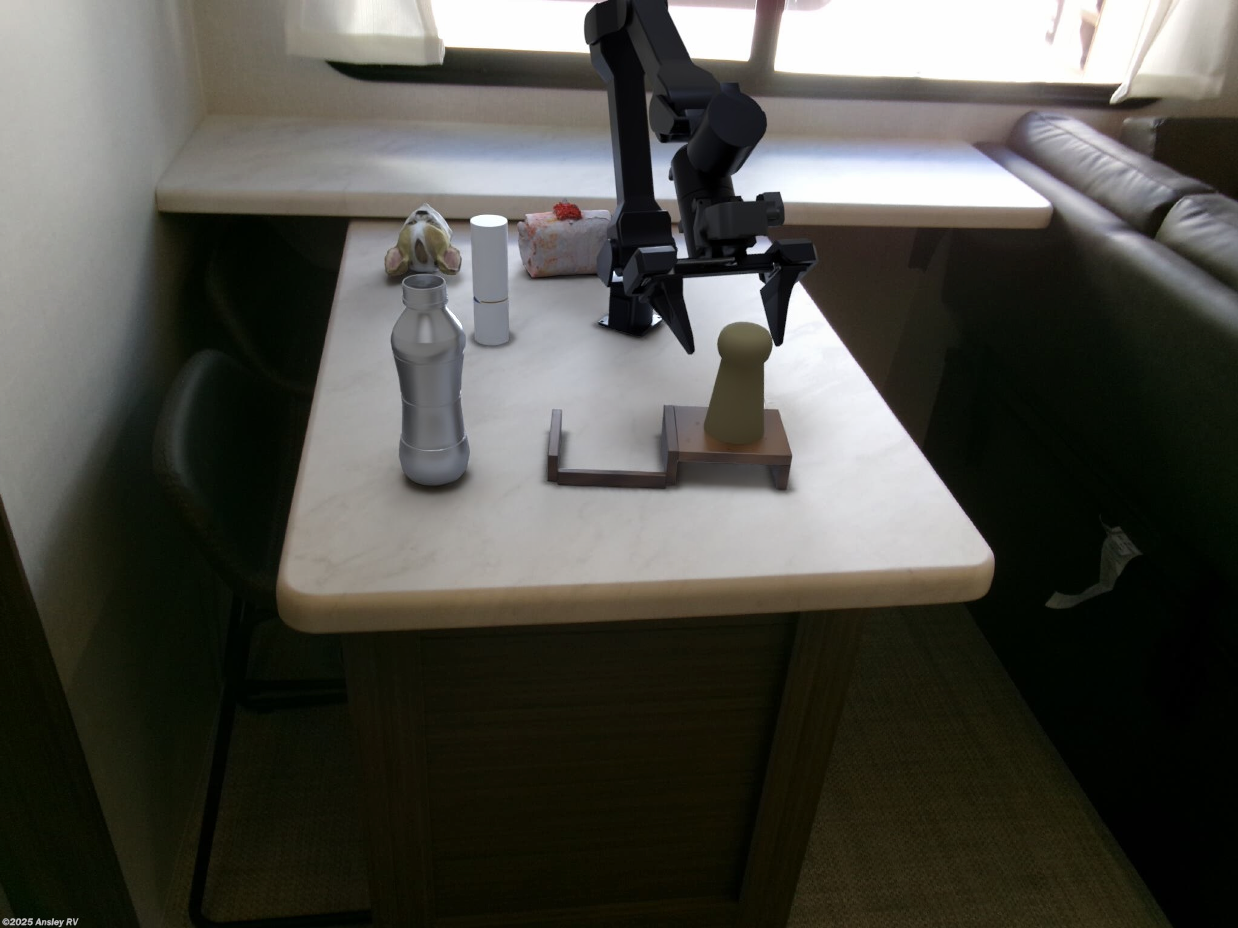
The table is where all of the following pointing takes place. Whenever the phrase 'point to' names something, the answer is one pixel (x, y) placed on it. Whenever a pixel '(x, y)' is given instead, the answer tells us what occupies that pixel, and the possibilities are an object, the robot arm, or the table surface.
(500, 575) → the table surface
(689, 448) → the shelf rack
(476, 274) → the tube
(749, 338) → the olive green pawn
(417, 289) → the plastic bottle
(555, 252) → the food item
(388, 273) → the ceramic sculpture
